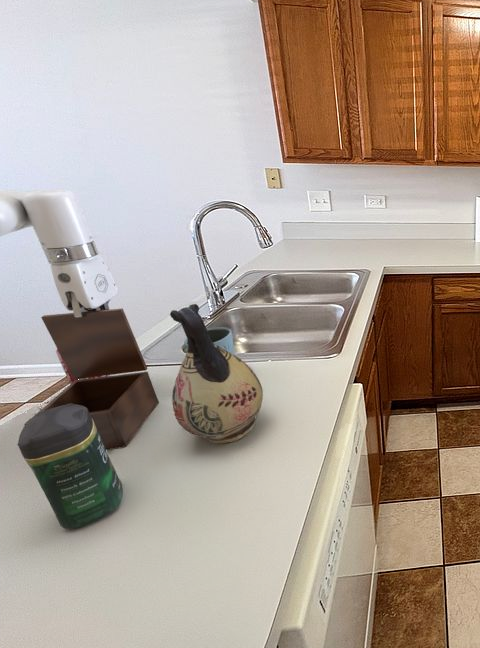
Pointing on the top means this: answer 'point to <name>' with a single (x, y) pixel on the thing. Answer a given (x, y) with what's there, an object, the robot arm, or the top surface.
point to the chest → (112, 404)
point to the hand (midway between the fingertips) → (105, 332)
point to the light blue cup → (220, 338)
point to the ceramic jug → (213, 386)
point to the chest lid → (95, 343)
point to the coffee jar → (71, 464)
